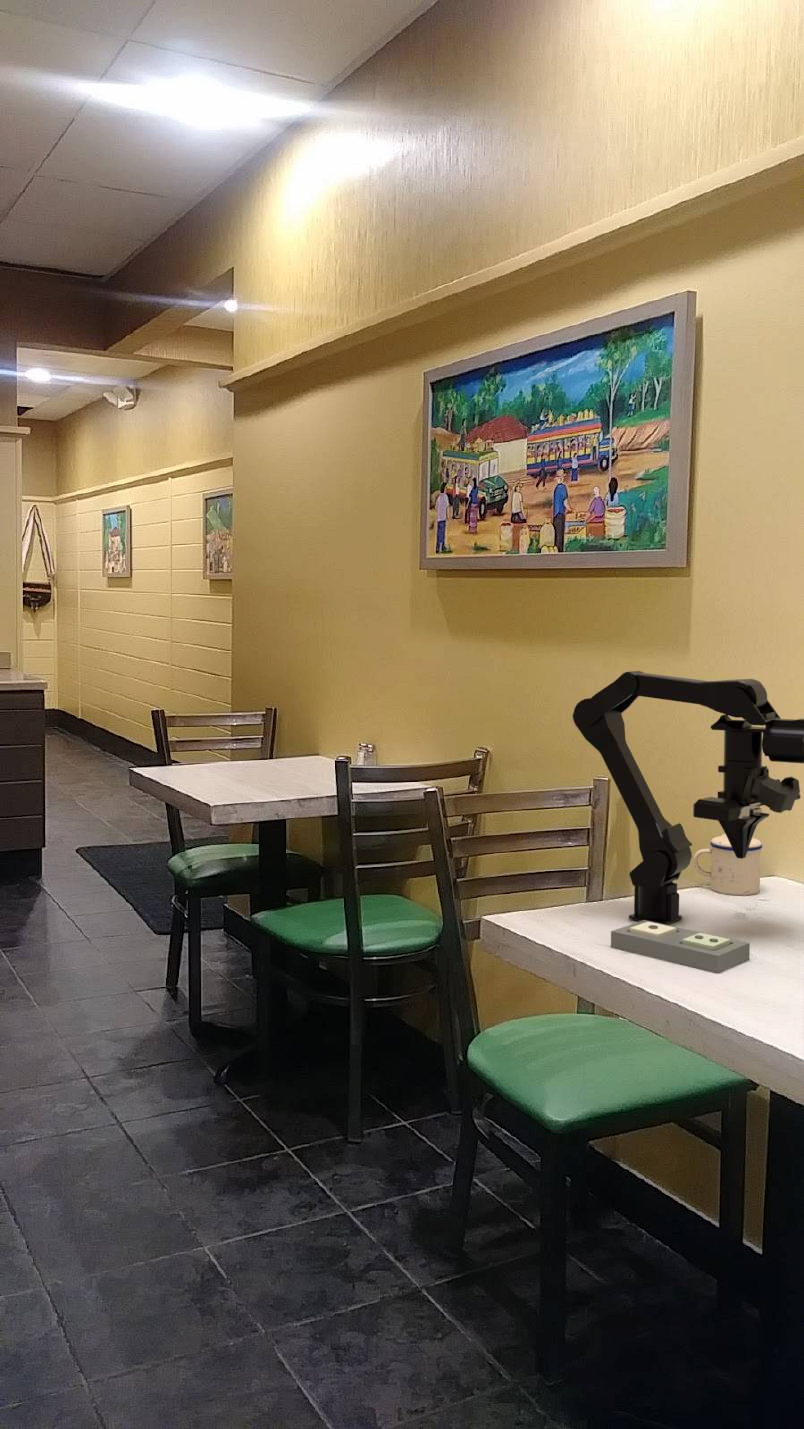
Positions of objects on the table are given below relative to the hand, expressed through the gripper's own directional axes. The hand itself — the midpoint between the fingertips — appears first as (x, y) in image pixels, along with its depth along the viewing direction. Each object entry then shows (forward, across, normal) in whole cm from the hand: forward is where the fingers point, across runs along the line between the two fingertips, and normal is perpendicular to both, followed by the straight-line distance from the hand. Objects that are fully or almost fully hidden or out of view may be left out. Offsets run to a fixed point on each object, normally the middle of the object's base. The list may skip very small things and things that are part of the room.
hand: (740, 858), depth 183 cm
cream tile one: (+11, -17, +5) cm, 20 cm away
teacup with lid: (+12, +24, +17) cm, 32 cm away
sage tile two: (+11, -16, -4) cm, 20 cm away
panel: (+12, -16, 0) cm, 20 cm away
